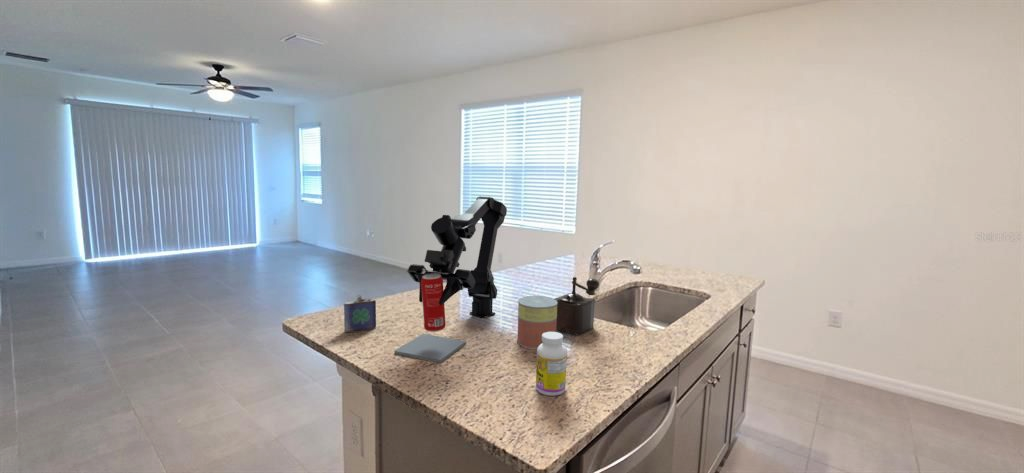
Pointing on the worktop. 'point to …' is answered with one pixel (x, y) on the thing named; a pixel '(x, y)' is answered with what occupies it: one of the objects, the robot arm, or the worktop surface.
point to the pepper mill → (576, 309)
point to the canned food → (535, 319)
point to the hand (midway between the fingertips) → (430, 303)
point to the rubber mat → (430, 348)
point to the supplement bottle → (551, 365)
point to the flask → (359, 315)
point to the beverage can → (432, 302)
